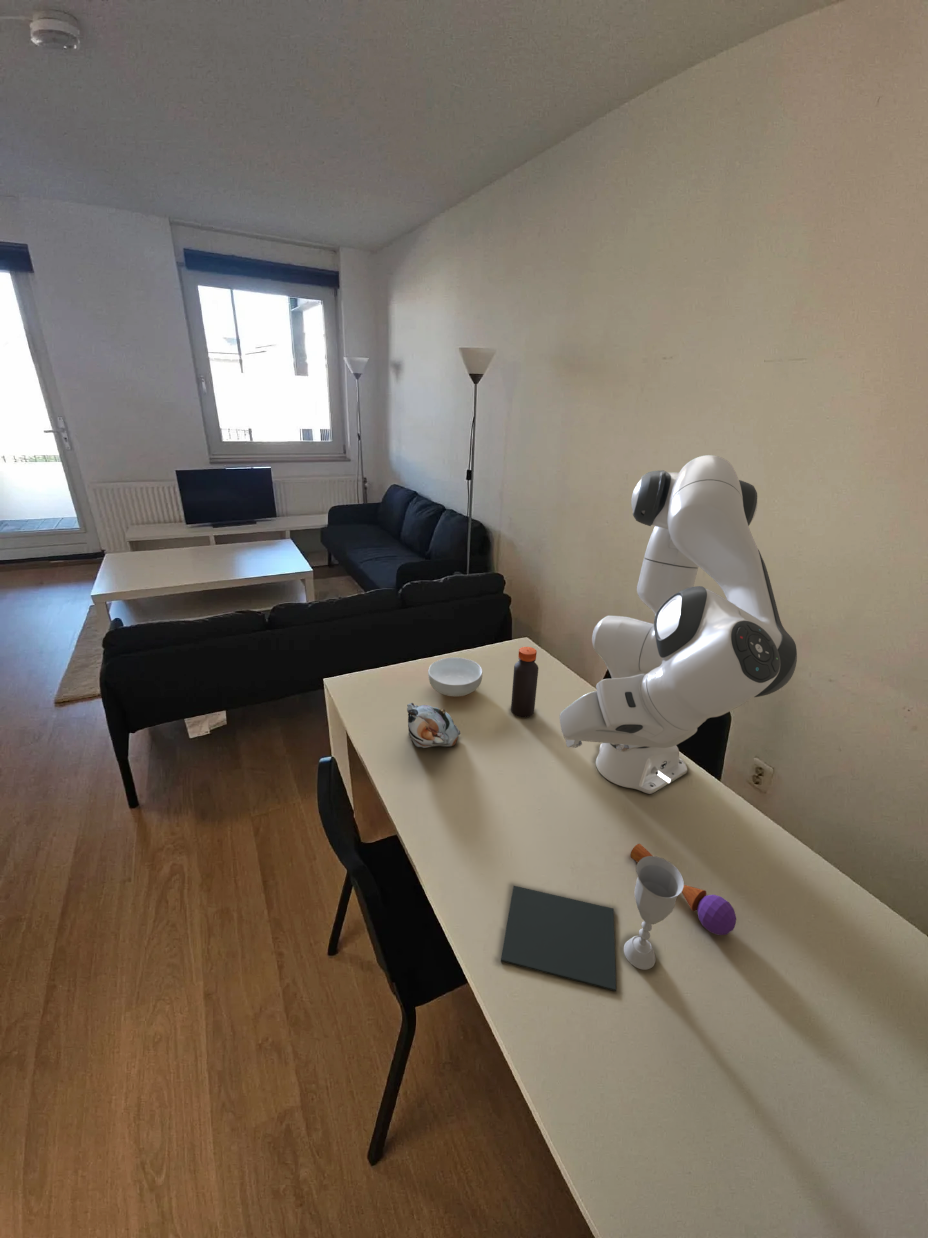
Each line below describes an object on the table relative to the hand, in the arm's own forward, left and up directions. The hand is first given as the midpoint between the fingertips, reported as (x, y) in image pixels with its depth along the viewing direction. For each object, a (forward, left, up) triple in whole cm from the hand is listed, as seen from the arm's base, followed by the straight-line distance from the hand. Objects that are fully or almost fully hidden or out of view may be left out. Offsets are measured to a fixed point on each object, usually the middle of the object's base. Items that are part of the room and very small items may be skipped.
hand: (595, 744), depth 77 cm
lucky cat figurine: (+7, -53, -35) cm, 64 cm away
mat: (+5, +4, -35) cm, 36 cm away
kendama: (-20, +6, -35) cm, 41 cm away
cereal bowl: (-8, -75, -35) cm, 83 cm away
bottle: (-22, -57, -35) cm, 71 cm away
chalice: (-6, +12, -35) cm, 38 cm away
